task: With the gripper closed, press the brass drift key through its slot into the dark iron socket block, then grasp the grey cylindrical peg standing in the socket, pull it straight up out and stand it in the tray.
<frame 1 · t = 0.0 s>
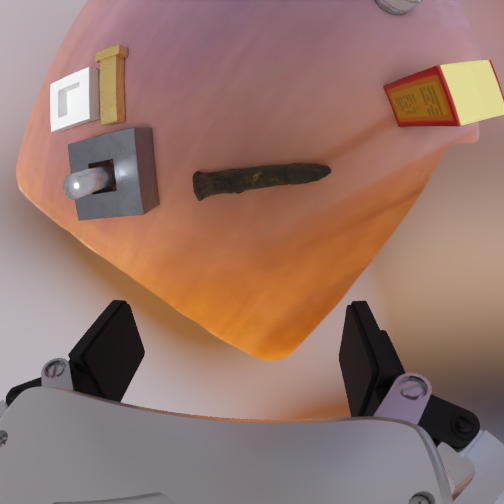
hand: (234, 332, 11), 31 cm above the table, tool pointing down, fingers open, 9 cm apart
baking soda box: (415, 100, 33), on the table
tray: (78, 100, 35), on the table
hand tool: (262, 171, 39), on the table
grey cylindrical peg: (100, 177, 34), in the socket
key: (111, 85, 33), point 2 cm above the table, slide at 0.0 cm
camera lens: (389, 1, 26), on the table
socket: (122, 171, 40), on the table
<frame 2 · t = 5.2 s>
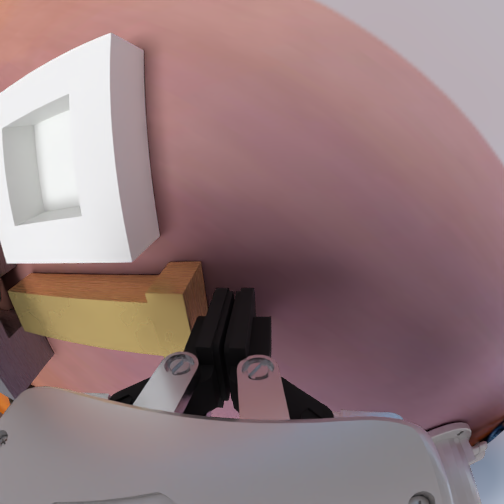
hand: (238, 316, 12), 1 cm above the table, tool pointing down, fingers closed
tray: (73, 157, 12), on the table
key: (91, 311, 13), point 2 cm above the table, slide at 0.2 cm, touching gripper
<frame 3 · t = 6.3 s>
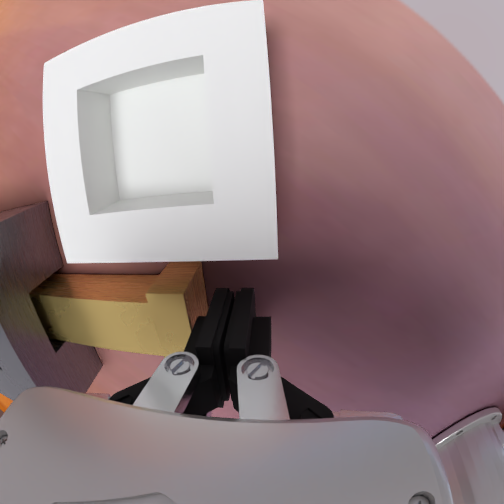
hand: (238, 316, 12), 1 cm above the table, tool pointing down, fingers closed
tray: (167, 137, 11), on the table
key: (91, 312, 13), point 2 cm above the table, slide at 5.6 cm, touching gripper
socket: (20, 290, 15), on the table
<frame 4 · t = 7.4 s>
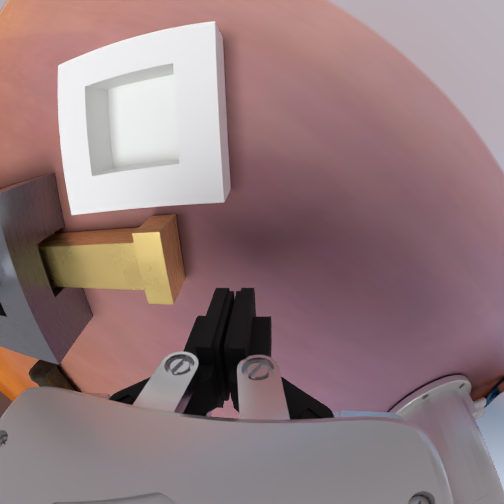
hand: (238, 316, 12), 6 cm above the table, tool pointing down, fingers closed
tray: (149, 120, 14), on the table
hand tool: (93, 405, 28), on the table
key: (87, 259, 16), point 2 cm above the table, slide at 5.5 cm
socket: (25, 252, 18), on the table
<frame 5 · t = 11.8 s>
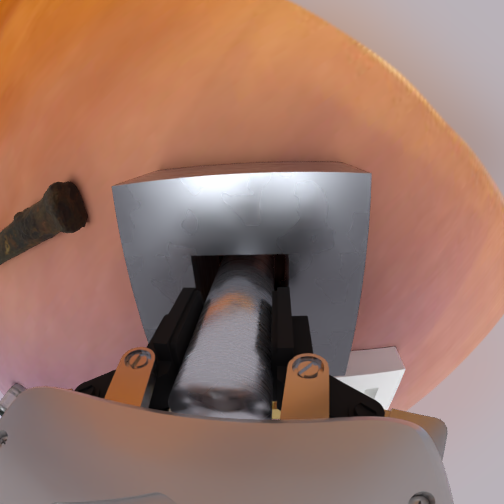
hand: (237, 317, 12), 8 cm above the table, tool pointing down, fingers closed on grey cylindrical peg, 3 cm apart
tray: (341, 384, 24), on the table
hand tool: (30, 236, 21), on the table
grey cylindrical peg: (240, 302, 13), in the socket, touching gripper
key: (255, 361, 21), point 2 cm above the table, slide at 5.5 cm
camera lens: (26, 393, 34), on the table
socket: (251, 251, 19), on the table
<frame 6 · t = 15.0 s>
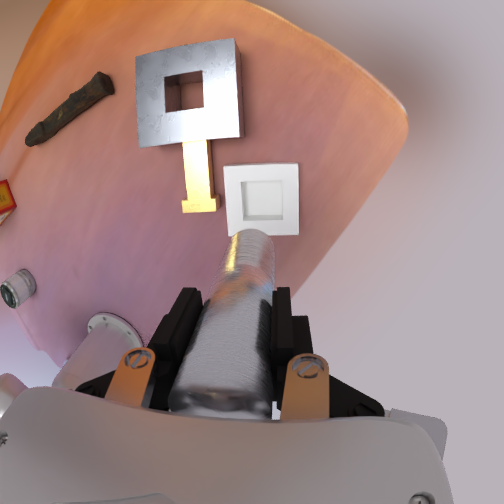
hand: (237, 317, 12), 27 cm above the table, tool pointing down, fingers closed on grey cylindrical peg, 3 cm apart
baking soda box: (3, 203, 41), on the table
tray: (263, 196, 37), on the table
hand tool: (72, 117, 34), on the table
grey cylindrical peg: (240, 302, 13), point 26 cm above the table, touching gripper
key: (198, 162, 34), point 2 cm above the table, slide at 5.5 cm
camera lens: (28, 280, 47), on the table
socket: (197, 98, 33), on the table
when the fingers open (10 cm above the table, at t = 18.5 s): grey cylindrical peg drops 1 cm, resting on tray.
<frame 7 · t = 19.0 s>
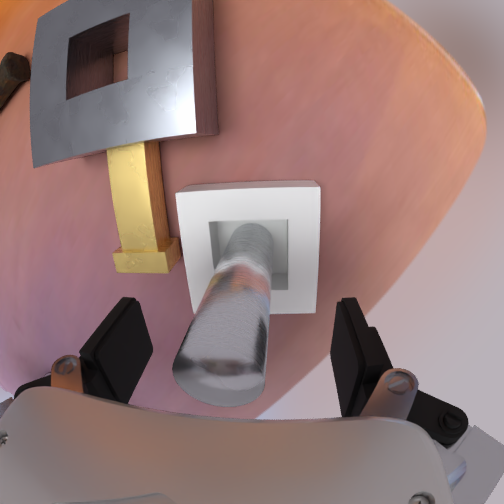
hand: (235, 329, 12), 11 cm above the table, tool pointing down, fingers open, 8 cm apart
tray: (253, 241, 21), on the table
grey cylindrical peg: (240, 287, 15), in the tray
key: (135, 183, 19), point 2 cm above the table, slide at 5.5 cm
socket: (137, 71, 17), on the table
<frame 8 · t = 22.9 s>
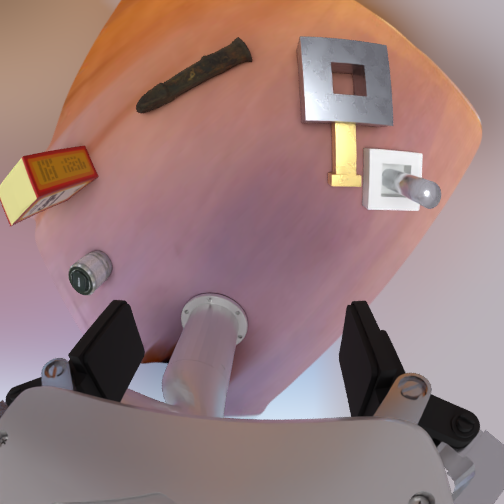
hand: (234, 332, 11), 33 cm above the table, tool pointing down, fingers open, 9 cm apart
baking soda box: (75, 173, 43), on the table
tray: (389, 177, 40), on the table
hand tool: (195, 83, 37), on the table
grey cylindrical peg: (407, 185, 33), in the tray
key: (344, 142, 37), point 2 cm above the table, slide at 5.5 cm
camera lens: (100, 263, 50), on the table
socket: (339, 86, 35), on the table
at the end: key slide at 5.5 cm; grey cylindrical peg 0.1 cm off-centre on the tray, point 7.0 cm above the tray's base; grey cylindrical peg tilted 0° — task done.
